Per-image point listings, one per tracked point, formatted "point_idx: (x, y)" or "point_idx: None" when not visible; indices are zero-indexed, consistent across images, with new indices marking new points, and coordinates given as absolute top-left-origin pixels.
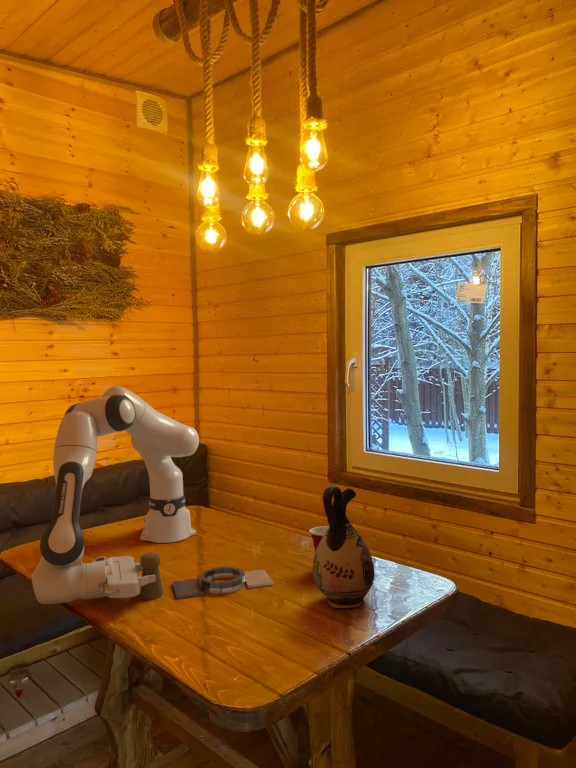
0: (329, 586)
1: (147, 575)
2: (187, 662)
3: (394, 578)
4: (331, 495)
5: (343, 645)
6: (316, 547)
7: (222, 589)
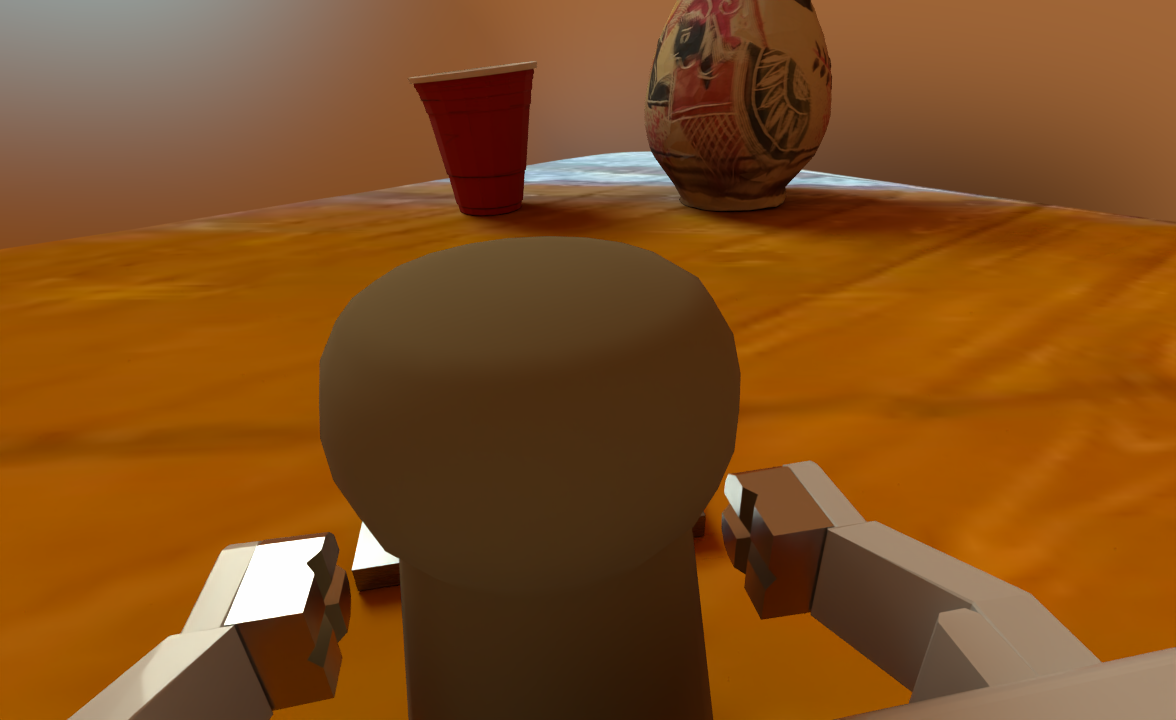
0: (821, 128)
1: (842, 537)
2: None
3: (593, 171)
4: None
5: (1004, 206)
6: (493, 127)
7: None
